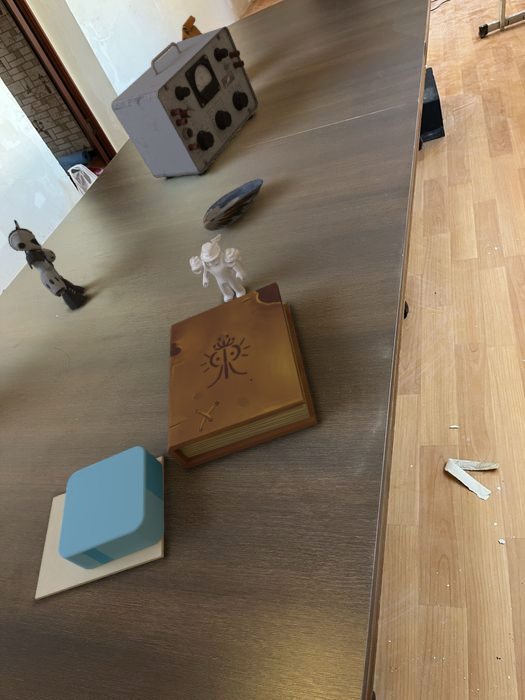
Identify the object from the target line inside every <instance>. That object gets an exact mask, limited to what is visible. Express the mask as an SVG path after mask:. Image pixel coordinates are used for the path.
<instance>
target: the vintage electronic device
mask: <svg viewBox="0 0 525 700" xmlns="http://www.w3.org/2000/svg"><path fill="white" fill-rule="evenodd" d="M244 66H245V61H244V60H242V58H241V52H240V50H239V49H237V47H236V44H235V42H234V39H233V36H232V34H231V31H230V29H229V28H228V27H227V26H222V27H219V28H215V29H213V30H209V31H207V32H203V33H202V34H201V35H198V36H195V37H192V38H189V39H186V40H183V41H182V40H180V41H177V42H174V41H172V42H170V43H169V44H168V45H167V46H166V47H164V48H163V49H162V50H161V51H160V52H159V53H158V54H157V55H156V56H155V57H154V58H152V59H151V61H150V66H149V68H147V70H145V71H144V72H143V73H142V74H141V75H140V76H139V77H137V78H136V80H134V81H133V82H132V83H131V84H130V85H129V86H128V87H127V88H126V89H125V90H124V91H122V92H121V93H119V95H118V96H117V97H116V98H115V99H114V100H113V101H112V102H111V109H112V112H113V113H114V115H115V117H116V118H117V120H118V121H119V123H120V125H121V126H122V128H123V129H124V132H125V133H126V134H127V136H128V138H129V139H130V141H131V143H132V144H133V145H134V147H135V149H136V151H137V152H138V154H139V155H140V157H141V158H142V160H143V161H144V163H145V165H146V166H147V169H148V170H149V171H150V173H151V175H152V176H153V177H154V178H156V179H160V178H161V179H162V178H166V179H167V180H170V179H172V178H173V177H179V176H189V175H198V176H201V177H202V176H204V175H205V174H206V173H207V169H208V167H209V166H211V164H212V163H213V162H214V161H215V159H216V158H217V157H218V156H219V154H220V153H221V152H222V151H223V150H224V148H225V147H226V146H227V145H228V144H229V143H230V141H231V140H232V139H233V138H234V136H235V135H236V134H237V133H238V132H239V130H241V128H242V127H243V126H244V124H246V122H247V121H249V120H251V119H252V118H253V116H254V115H253V114H254V113H255V112H256V110H257V109H258V107H259V101H258V98H257V96H256V93H255V91H254V87H253V86H252V83H251V81H250V78H249V75H248V74H247V71H246V68H245V67H244Z"/></svg>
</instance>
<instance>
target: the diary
mask: <svg viewBox="0 0 525 700" xmlns="http://www.w3.org/2000/svg"><path fill="white" fill-rule="evenodd" d="M282 300H283V299H282V295H281V290H280V287H279V284H278V282H277V281H275V282H272V283H270V284H267V285H265V286H262V287H260V288H258V289H255V290H252V291H250V292H248V293H246V294H245V295H243V296H240V297H238V298H237V297H236V298H233V299H232V300H231V301H228V302H223V303H221V304H219V305H217V306H214V307H211V308H209V309H207V310H204V311H202V312H200V313H197V314H194V315H192V316H190V317H187V318H184V319H182V320H180V321H178V322H175V323H173V324H171V327H170V329H169V364H168V365H169V366H168V367H169V368H168V375H169V376H168V408H167V409H168V411H167V454H168V455H170V457H172V459H174V460H175V461H176V462H177V463H178V464H179V465H180V466H181V467H184V468H194V467H197V466H200V465H202V464H205V463H209V462H211V461H214V460H217V459H220V458H223V457H226V456H229V455H233V454H234V453H237V452H240V451H243V450H246V449H249V448H252V447H255V446H258V445H261V444H263V443H266V442H269V441H272V440H275V439H278V438H281V437H284V436H287V435H290V434H292V433H295V432H299V431H301V430H304V429H307V428H310V427H314V426H316V425H318V424H319V423H318V419H317V415H316V411H315V407H314V404H313V399H312V394H311V391H310V386H309V382H308V379H307V374H306V371H305V366H304V362H303V358H302V353H301V350H300V346H299V342H298V338H297V334H296V329H295V324H294V321H293V316H292V313H291V312H292V311H291V309H290V305H289V304H288V302H286V303H283V301H282Z"/></svg>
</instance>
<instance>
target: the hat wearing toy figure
mask: <svg viewBox="0 0 525 700" xmlns="http://www.w3.org/2000/svg"><path fill="white" fill-rule="evenodd" d="M221 235H222V234H221V233H218V234H217V236H215V237H214V238H212V239H210V242H205V243H204V244H202V246H201V250H200V255H199V256H197V255H195V256H192V257H191V258H190V259H189V265H190V267H191V271H192V272H191V273H194V274H196V275H201V274H202V273H203V274H202V285H203V288H204V289H207V288H208V287H209V284H210V274H211V275H213V276H214V277H215V280H216V283H217V285H218V287H219V289H220V291H221V293H222V294H223V301H224V303H226V302H228V301H231V300H233V299H234V296H235V297H236V298H238V297H240V296H243V295H245V294H247V290H246V289H245V287H244V286H243V285H241V284H240V283H239V282H238V279H240V280H241V282H242V283H244V282H245V281H246V280H247V273H246V272H245V271H244V270H243V269H242V267H241V265H240V264H239V263H238V262H236V261H239V262H240V261H242V256H241V254H240V251H239V249H237V248H235V247H232V246H231V248H229V247H228V248H226V249H225V250H224V252H222V250H221V247H220V245H218V244H219V243H218V242H219V241H221V240H222V239H221V238H222V236H221ZM238 257H239V258H238ZM202 268H203V269H202ZM232 269H233V271H235V272H236V273H235V274H234V273H233V272H232ZM198 270H199V271H198ZM202 270H203V271H202ZM196 271H197V272H196ZM228 284H229V286H230V287H231V288H230V287H229V286H228Z"/></svg>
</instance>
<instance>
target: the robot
mask: <svg viewBox="0 0 525 700" xmlns="http://www.w3.org/2000/svg"><path fill="white" fill-rule="evenodd" d="M13 222H14V225H15V227H14V229H13V230H11V231H10V232H9V233H8V238H7V239H8V244H9V246H10V248H11V249H13V250H14V251H16V252H18V251H19V252H24V254H25V260H26V262H27V264H28V266H29V268H30V269H31V270H34V268H35V269H37V271H38V272H39V278H40V281H41V283H42V285H43V286H44V287H45V288H46V289H47V290H48V291H49V292H50V293H51V294H52V295H53V296H55V297H58V298H60V297H61V298H62V299H63V301H64V303H65V304H66V305H67V307H68V308H69V309H70V310H71V311H75V310H78V309H80V308H82V307H83V306H84V305H85V304H86V303H87V301H88V298H89V297H88V296H86V295H85V294H84V291H85V288H84V287H83V286H81V285H78V284H74V283H73V282H71V281H70V280H68V279H66V278H64V276H63V275H61V274H59V272H58V271H57V270H56V268H55V266H54V264H53V263H54V262H55V261H56V259H57V255H56V253H55V252H54V251H53V250H51V249H48V248H45V247H42V246H43V245H42V244H41V243H40V242H39V241H38V240H37V239H36V236H35V235H34V233H33V231H31V230H30V229H28V228H24V227H20V225H19V223H18V221H17V220H16V219H14V220H13ZM33 267H34V268H33Z"/></svg>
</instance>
